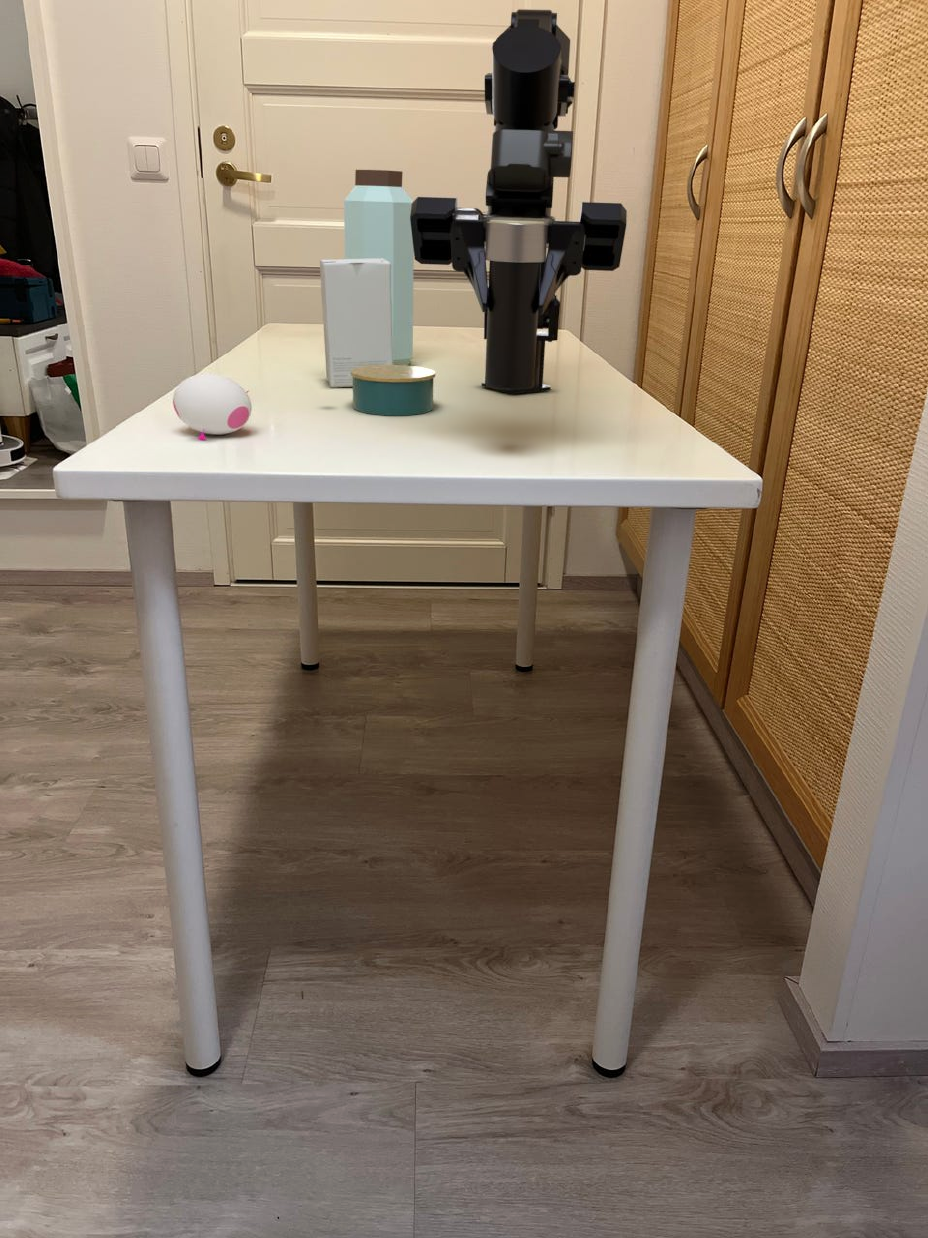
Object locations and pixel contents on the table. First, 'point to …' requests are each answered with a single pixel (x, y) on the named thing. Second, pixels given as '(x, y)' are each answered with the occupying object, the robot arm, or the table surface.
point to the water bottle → (385, 244)
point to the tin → (392, 389)
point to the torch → (513, 300)
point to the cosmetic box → (355, 316)
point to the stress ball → (212, 404)
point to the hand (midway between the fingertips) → (512, 310)
